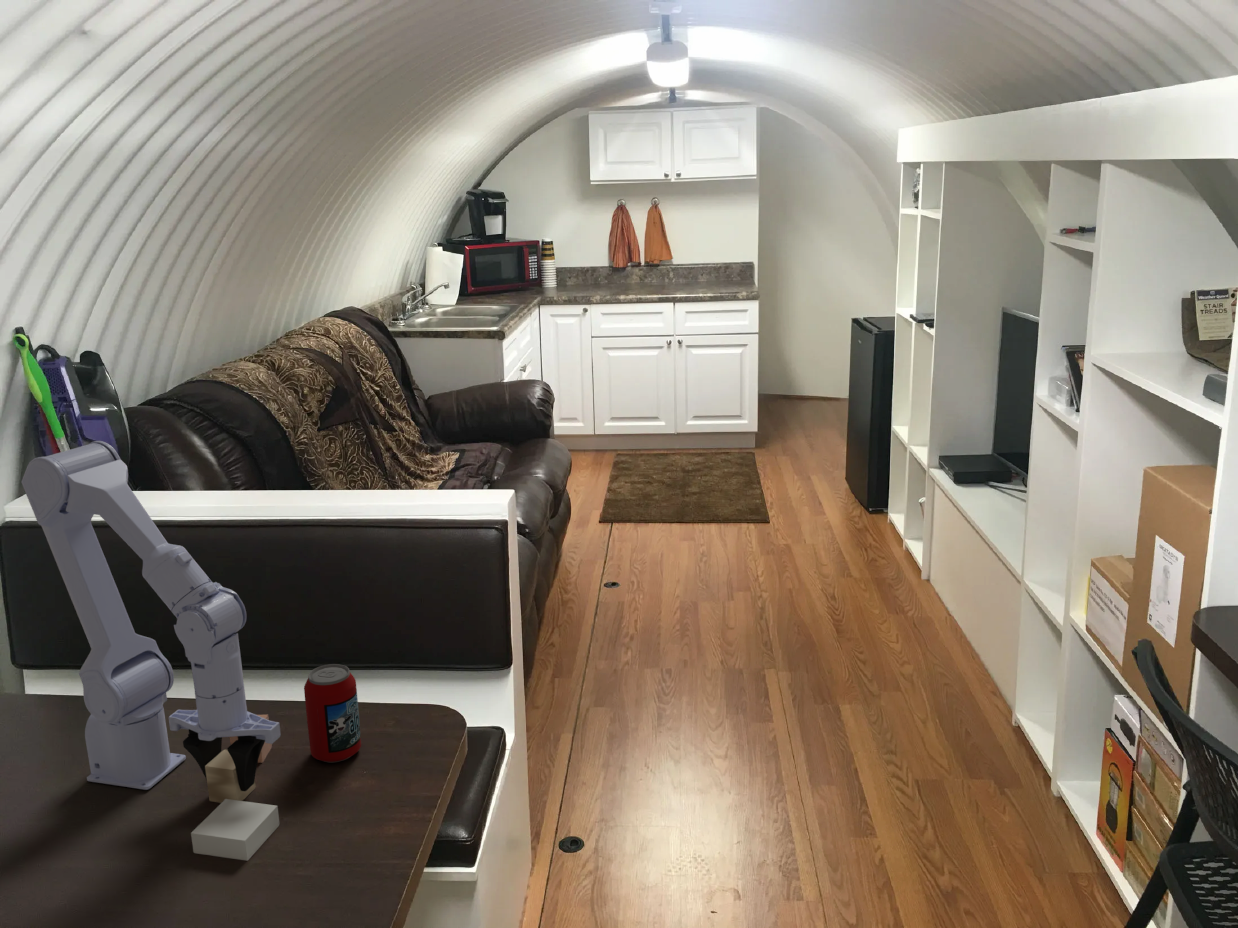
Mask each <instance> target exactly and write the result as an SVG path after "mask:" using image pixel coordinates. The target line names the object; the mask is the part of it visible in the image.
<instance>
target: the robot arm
mask: <svg viewBox="0 0 1238 928" xmlns="http://www.w3.org/2000/svg"><path fill="white" fill-rule="evenodd" d="M128 481H129V469H128V466H127V464H126V463H125V462H124V461H123V460H122V459H121V457H120V456H119V454H118V452H117V451H116V449H115V448H114V447H113V446H112V445H110V444H109V443H107V442H105V441H103V440H95V441H91V442H90V443H88V444H85V445H82V446H77V447H75V448H71V449H67V450H65V451H61V452H56V453H53V454H50V455H46V456H38V457H35V458H33V459H32V460H30V461H29V463H28V464H27V466H26V469H25V472H24V473H23V477H22V479H21V481H20V482H21V484H22V488H23V490H24V491H25V495H26V497H27V499H28V502H29V504H30V507H31V509H32V512H33V515H34V517H35V520H36V522H37V524H38V525H39V526H41V528H42V531H43V533H44V535H45V537H46V541H47V543H48V545H49V548H50V550H51V553H52V556H53V558H54V561H55V562H56V566H57V568H58V570H59V573H60V575H61V578H62V581H63V583H64V584H65V587H66V590H67V592H68V595H69V598H70V599H71V603H72V604H73V605H72V606H74V610H75V611H76V612H75V613H76V614H77V617H78V619H79V622H80V624H81V626H82V629H83V632H84V634H85V636H86V638H87V642H88V643H89V644H88V645H89V646H90V652H89V654H88V655H87V657H86V659H85V661H84V662H83V664H82V666H81V668H79V669H80V670H79V672H78V676H79V678H80V680H81V684H82V689H83V690H82V691H83V700H84V705H85V707H86V709H87V710H88V713H90V715H89V717H88V718H87V721H86V725H85V728H84V739H85V744H86V752H87V756H88V764H89V769H90V770H89V771H90V774H89V775H88V776H86V781H88V782H92V783H97V784H98V783H99V784H105V785H112V786H119V787H127V788H132V789H138V790H144V791H147V790H150V789H151V788H152V787H153V786H155V785H156V784H157V783H158V782H160V781H161V780H162V779H163V778H164V777H165V776H166V775H168V774H169V773H171V772H172V771H173V770H174V769H175V768H176V767H178V766H179V765H181V763H183V762H184V761H185V760H186V758H187V757H186V756H187V755H185V754H180V753H174V752H171V750H170V743H169V738H168V737H169V736H168V729H167V721H166V715H165V709H164V703H166V702H167V701H168V697H167V693H168V692H169V691H170V690H171V689H172V687H173V685H174V681H175V680H174V679H175V678H174V671H173V668H172V667H173V666H172V665H171V663H170V662H169V660H168V659H167V658H166V657H165V656H164V655H163V653H162V652H161V650H160V648H159V645H158V644H157V641H156V639H153V638H151V637H147V636H144V635H141V634H138V633H136V632H135V629H134V627H133V624H132V622H131V619H130V617H129V614H128V612H127V609H126V607H125V603H124V602H123V601H124V600H123V599H122V596H121V594H120V592H119V589H118V587H117V584H116V582H115V580H114V576H113V575H112V572H111V569H110V566H109V564H108V562H107V559H106V557H105V555H104V552H103V550H102V547H101V544H100V542H99V538H98V537H97V533H96V532H95V530H94V527H93V525H92V519H93V517H94V515H98V516H100V518H101V519H103V521H105V523H106V524H107V525H108V526H109V527H111V528H112V530H113V531H114V532H115V533H116V534H117V535H118V536H119V537H120V538H121V539H122V541H124V543H125V544H127V545H128V547H130V549H132V550H133V552H134V553H135V554H136V555H137V556H138V558H140V559H141V560H142V569H141V574H142V577H143V579H144V580H145V581H146V582H147V583H148V585H149V586H150V587H151V588H152V589H153V591H154V592H155V593H156V594H157V596H158V597H159V598H160V599H161V601H162V602H163V603H164V604H165V605H166V606H167V608H168V609H169V610H170V612H171V613H172V614H173V616H175V617H176V624H173V628H174V632H175V634H176V637H177V638H178V641H180V643H181V645H183V648H184V655H185V657H186V658H187V661H188V662H190V665H191V671H192V681H193V686H194V687H193V688H194V697H195V704H196V705H195V706H196V709H177V710H176V711H174V712H173V713H172V714H170V715H169V716H168V723H169V730H170V731H174V732H178V731H180V730H188V734H187V737H186V738H185V739H183V740H182V744H183V745H182V746H183V748H184V749H185V750H187V752H188V753H189V755H191V756H192V757H193V758H194V760H195V761H196V763H197V764H198V766H199V768H200V770H201V772H202V774H203V777H205V780H206V781H207V778H206V770H205V766H206V765H207V764H208V763H209V762H210V761H211V760H212V759H214V758H215V757H216V756H217V755H218V754H219V753H221V752H222V743H223V738H228V737H229V738H230V737H233V736H238V740H236V741H235V742H234V743H233V744H230V745H229V746H228V747H227V748H226V750H228V752H229V754H230V755H231V757H232V759H233V762H234V764H235V767H236V771H237V778H238V784H239V787H240V790H241V791H247V790H248V789H249V788H250V787H251V786H252V785H253V784H254V781H255V782H256V780H255V779H256V772H257V767H258V764H259V763H258V759H259V755H260V752H261V750H262V747H263V745H264V742H265V743H269V744H272V745H273V744H274V743H275V742H276V741H277V740H278V739H279V738H280V737H281V726H280V722H278V721H274V720H267V719H265V718H262V717H260V716H258V715H259V714H256V713H252V712H250V711H248V707H247V699H246V690H245V684H244V674H243V666H242V657H241V656H242V655H241V649H240V642H239V641H240V639H239V633H238V632H239V631H240V630H242V629H243V627H245V624H246V622H247V611H246V610H247V609H246V607H245V604H244V603H243V600H242V599H241V598H240V596H239V594H238V593H237V592H236V591H234V590H233V589H230V588H227V587H224V586H222V584H221V583H220V582H217V581H215V582H213V581H212V580H211V579H210V578H209V577H210V576H208V575H207V574H206V572H205V571H204V570H203V569H202V568H201V566H200V565H199V564H198V562H196V560H195V559H194V558H193V556H192V555H191V554H190V553H189V552H188V550H187V549H186V548H185V547H184V546H183V545H178V544H172V543H169V542H168V541H167V540H166V538H165V537H164V536H163V534H162V532H161V531H160V530H159V528H158V527H157V525H156V524H155V522H154V520H153V519H152V518H151V516H150V515H149V514H148V511H147V510H146V509H145V508H144V506H143V504H141V502H140V500H139V499H138V497H137V496H136V495H135V493H134V491H132V489H131V487H130V486H129V483H128Z"/></svg>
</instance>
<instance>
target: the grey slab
mask: <svg viewBox="0 0 1238 928" xmlns="http://www.w3.org/2000/svg"><path fill="white" fill-rule="evenodd" d="M278 807H279V806H278V805H276V804H275V805H273V804H266V803H258V802H253V801H244V800H243V801H238V800H230V799H225V800H224V801H223V802H222V803H219V805H217V807H216V808H215V809H213V811H212V812H211V813H210V814H209V815H208V816H207V817H206V818H205V819H204V820H203V821H202V822H200V823H199V824H198V825H197V826H196V827H195V829H193V830H192V832H190V836H191V842H192V843H191V844H192V852H193V853H194V854H199V855H207V856H213V857H220V858H226V859H234V860H239V861H247V862H248V861H249V860H250V859H251V858H252V856H253V855H254V854H255V853H256V852H257V851H258V850H259V849H260V848H261V846H262V845H264V843H265V842H266V841H267V839H269V837H271V835H272V834H273V833H274V832H275V831H276V830H277V828H279V826H280V824H281V823H280V817H279V808H278Z"/></svg>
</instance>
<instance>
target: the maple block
mask: <svg viewBox="0 0 1238 928" xmlns="http://www.w3.org/2000/svg"><path fill="white" fill-rule="evenodd" d="M205 770H206V778H207V780H206V782H207V783H206V785H207V791H208V797H209V799H208V800H209V802H214V803H219V804H221V803H222V802H223V801H224V800H225V799H230V800H238V801H244V800H245V799H246V798H247V797H248V796H249V795H250V794H251V793H252V792H253V791H254V790H255V789H256V788H257V787H256V780H255V781H254V784H253V785H252V786H251V787H250V788H249V789H248V790H247V791H241V790H240V787H239V784H238V778H237V771H236V767H235V764H234V762H233V759H232V757H231V755H230V754H229V752H228V750H227V749H223V750H221V753H219V754H218V755H217V756H216V757H215V758H214V759H212V760H211V761H210V762H209V763H208V764H207V765H206V766H205ZM206 778H205V779H206Z"/></svg>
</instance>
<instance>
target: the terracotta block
mask: <svg viewBox="0 0 1238 928" xmlns="http://www.w3.org/2000/svg"><path fill="white" fill-rule="evenodd" d="M257 715H258V716H260V717H262V718H265V719H267V720H269V718H270V717H269V714H257ZM236 740H238V736H233V737H229V741H230V745H231V744H233V743H234V742H235V741H236ZM272 745H273V743H272V744H269V743H265V742H264V745H263V747H262V750H261V752H260V755H259V759H258V763H257V764H259V763H260V764H261V763H264V761H265V760H266V758H267V756H268V754H269V753H270V751H271V749H272V748H273V746H272Z"/></svg>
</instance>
